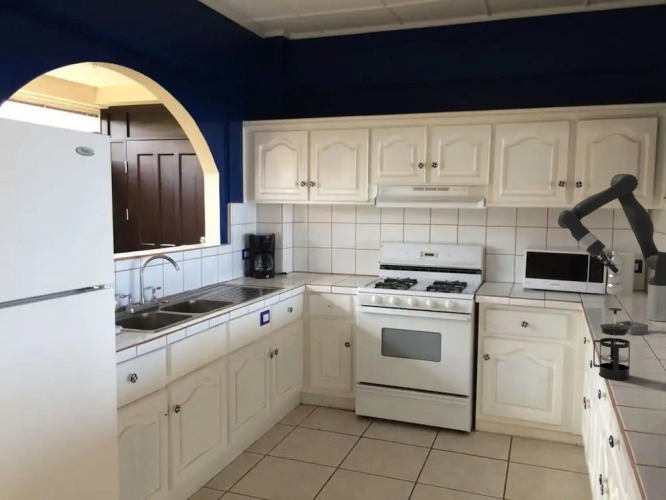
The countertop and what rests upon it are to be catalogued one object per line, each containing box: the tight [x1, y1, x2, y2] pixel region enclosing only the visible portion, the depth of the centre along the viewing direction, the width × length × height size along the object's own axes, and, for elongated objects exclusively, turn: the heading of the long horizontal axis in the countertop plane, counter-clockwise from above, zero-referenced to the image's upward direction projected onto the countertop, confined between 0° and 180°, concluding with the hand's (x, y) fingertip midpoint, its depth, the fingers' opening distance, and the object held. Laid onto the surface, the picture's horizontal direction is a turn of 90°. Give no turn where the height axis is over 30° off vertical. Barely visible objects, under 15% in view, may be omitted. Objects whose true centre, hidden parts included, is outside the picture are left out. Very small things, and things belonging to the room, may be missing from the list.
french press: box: [592, 307, 631, 381], centre depth 187 cm, size 12×9×23 cm
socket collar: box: [611, 320, 649, 336], centre depth 251 cm, size 10×10×4 cm
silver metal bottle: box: [606, 250, 624, 296], centre depth 256 cm, size 6×7×20 cm
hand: (618, 271), depth 255 cm, fingers closed on silver metal bottle, 6 cm apart
